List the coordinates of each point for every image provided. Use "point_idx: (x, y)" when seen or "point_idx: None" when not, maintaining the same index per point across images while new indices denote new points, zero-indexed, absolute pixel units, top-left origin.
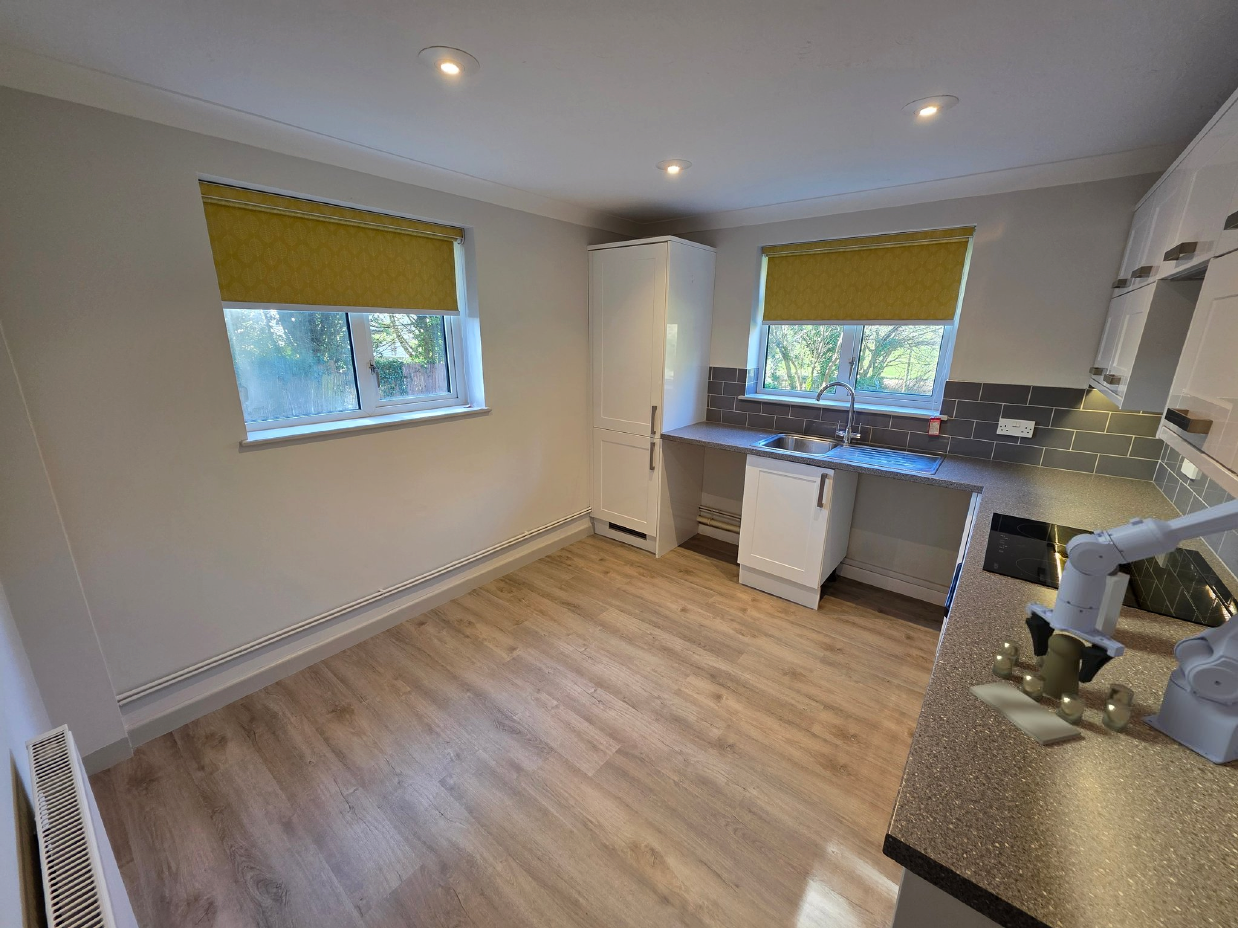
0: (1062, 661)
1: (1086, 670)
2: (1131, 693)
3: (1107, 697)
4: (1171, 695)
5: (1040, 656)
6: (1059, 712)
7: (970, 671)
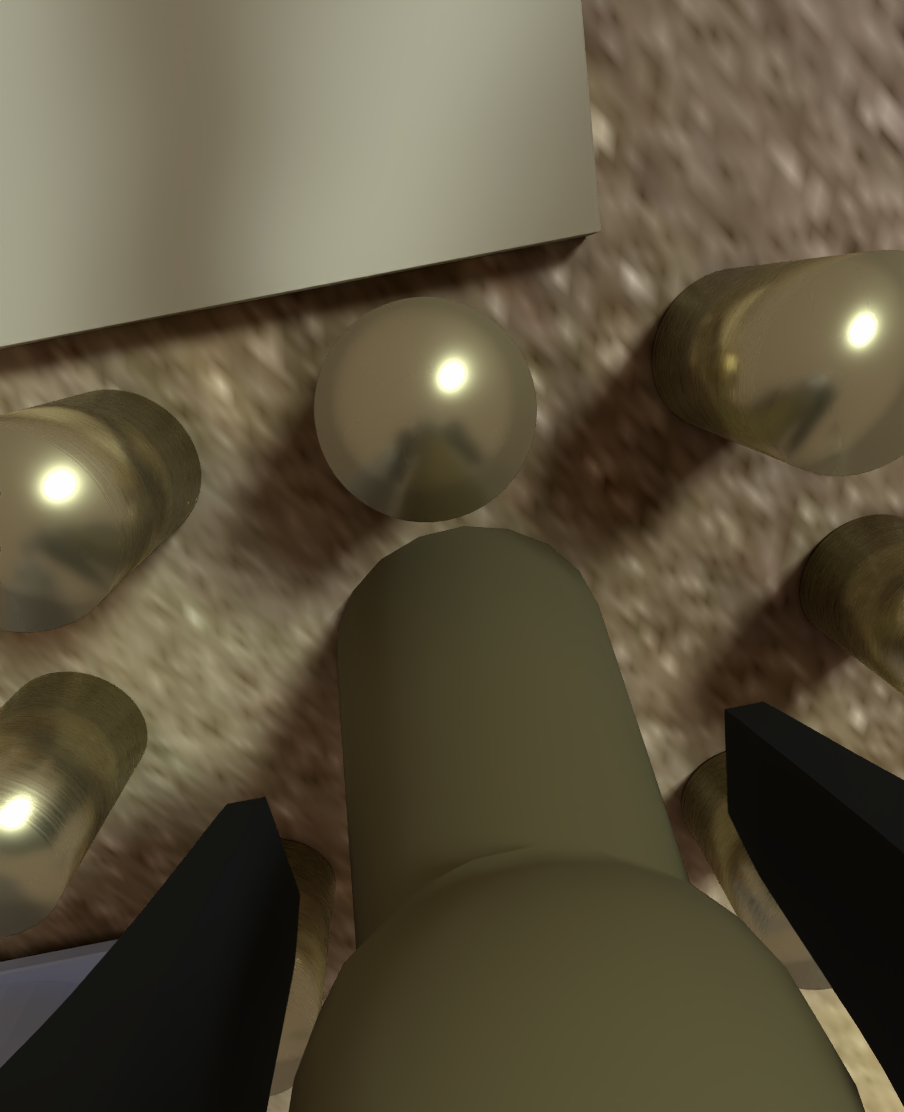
0: (419, 838)
1: (101, 966)
2: None
3: None
4: None
5: None
6: (114, 399)
7: (835, 11)
